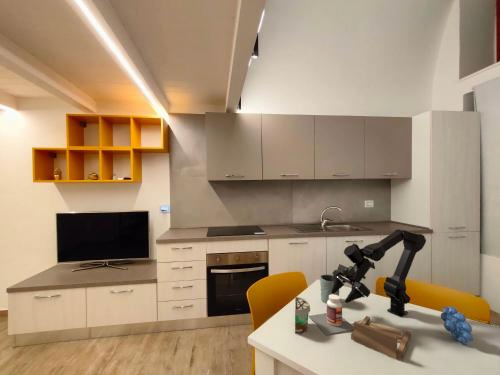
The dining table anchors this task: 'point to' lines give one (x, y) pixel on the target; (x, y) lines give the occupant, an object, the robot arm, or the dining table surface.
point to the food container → (301, 315)
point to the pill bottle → (334, 310)
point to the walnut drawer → (379, 339)
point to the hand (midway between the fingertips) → (338, 297)
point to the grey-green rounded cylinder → (327, 287)
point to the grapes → (456, 325)
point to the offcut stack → (388, 331)
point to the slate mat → (330, 329)
